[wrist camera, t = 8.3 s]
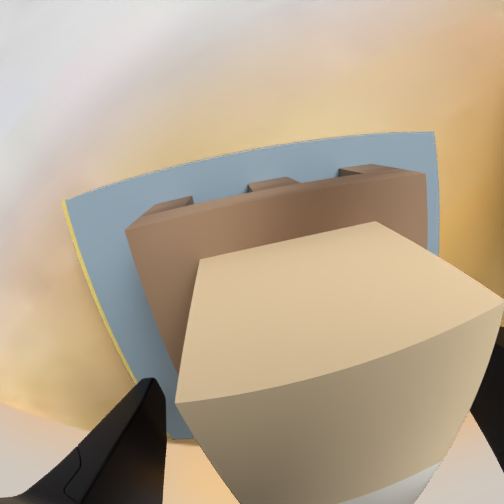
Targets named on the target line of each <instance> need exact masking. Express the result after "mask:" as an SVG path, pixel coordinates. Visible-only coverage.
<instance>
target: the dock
mask: <svg viewBox="0 0 504 504" xmlns="http://www.w3.org/2000/svg"><path fill="white" fill-rule="evenodd" d="M368 164H375V165H381V166H388V167H394V168H399V169H405V170H410V171H416V172H421V173H426V185H427V210H428V243H427V250H428V251H430V252H431V253H433V254H435V255H436V256H438V255H439V181H438V166H437V154H436V144H435V136H434V132H392V133H377V134H364V135H353V136H343V137H334V138H326V139H317V140H310V141H302V142H295V143H289V144H282V145H276V146H270V147H264V148H258V149H253V150H247V151H242V152H237V153H232V154H227V155H222V156H217V157H213V158H208V159H203V160H199V161H195V162H190V163H186V164H182V165H178V166H174V167H170V168H166V169H162V170H158V171H155V172H151V173H147V174H144V175H140V176H137V177H133V178H130V179H126V180H123V181H119V182H116V183H113V184H110V185H106V186H103V187H100V188H97V189H94V190H92V191H89V192H86V193H84V194H81V195H78V196H75V197H72V198H70V199H67V200H65V201H62V202H61V203H62V207H63V210H64V214H65V218H66V221H67V224H68V228H69V231H70V234H71V238H72V241H73V244H74V247H75V250H76V253H77V256H78V259H79V261H80V264H81V267H82V270H83V273H84V275H85V278H86V281H87V283H88V286H89V288H90V291H91V293H92V296H93V298H94V301H95V303H96V305H97V308H98V310H99V312H100V315H101V317H102V319H103V322H104V324H105V326H106V328H107V330H108V332H109V335H110V337H111V339H112V341H113V343H114V345H115V347H116V349H117V351H118V353H119V355H120V357H121V359H122V361H123V363H124V365H125V367H126V369H127V370H128V372H129V374H130V376H131V378H132V380H133V381H134V383H135V385H136V384H137V383H138V382H139V381H140V380H141V379H143V378H149V377H154V378H155V379H156V380H157V381H158V383H159V385H160V387H161V389H162V391H163V393H164V395H165V398H166V428H167V437H171V438H172V439H173V440H175V439H189V438H195V437H194V436H193V434H192V432H191V431H190V429H189V427H188V426H187V424H186V422H185V421H184V419H183V417H182V415H181V414H180V412H179V410H178V408H177V407H176V405H175V397H176V391H177V384H178V377H179V376H178V374H177V372H176V370H175V368H174V365H173V363H172V361H171V358H170V356H169V354H168V351H167V349H166V347H165V344H164V342H163V339H162V337H161V334H160V332H159V329H158V327H157V324H156V322H155V319H154V317H153V314H152V311H151V309H150V306H149V303H148V301H147V298H146V295H145V292H144V289H143V287H142V284H141V281H140V278H139V275H138V272H137V269H136V266H135V263H134V260H133V257H132V253H131V250H130V247H129V244H128V240H127V237H126V234H125V229H126V228H127V227H129V226H130V225H131V224H132V223H133V222H134V221H136V220H137V219H138V218H139V217H140V216H141V215H143V214H144V213H145V212H146V211H147V210H149V209H150V208H151V207H152V206H153V205H155V204H159V203H163V202H167V201H171V200H175V199H179V198H184V197H188V196H192V197H193V201H194V204H198V203H202V202H207V201H211V200H216V199H221V198H225V197H230V196H235V195H240V194H245V193H249V188H248V184H249V183H254V182H259V181H265V180H270V179H276V178H281V177H289V178H291V179H293V180H296V181H298V182H300V183H305V182H311V181H317V180H323V179H329V178H336V177H340V174H339V168H345V167H352V166H360V165H368Z"/></svg>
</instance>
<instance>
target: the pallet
mask: <svg viewBox="0 0 504 504" xmlns="http://www.w3.org/2000/svg"><path fill="white" fill-rule="evenodd" d="M339 174H340V177H336V178H329V179H323V180H317V181H311V182H305V183H300V182H298V181H296V180H293V179H291V178H289V177H281V178H276V179H270V180H265V181H259V182H254V183H249V184H248V188H249V193H245V194H240V195H235V196H230V197H225V198H221V199H216V200H211V201H207V202H202V203H198V204H194V201H193V197H192V196H188V197H184V198H179V199H175V200H171V201H167V202H163V203H159V204H155V205H153V206H152V207H151V208H150V209H149V210H147V211H146V212H145V213H144V214H143V215H141V216H140V217H139V218H138V219H137V220H136V221H134V222H133V223H132V224H131V225H130V226H129V227H127V228H126V229H125V234H126V237H127V240H128V244H129V247H130V250H131V253H132V257H133V260H134V263H135V266H136V269H137V272H138V275H139V278H140V281H141V284H142V287H143V289H144V292H145V295H146V298H147V301H148V303H149V306H150V309H151V311H152V314H153V317H154V319H155V322H156V324H157V327H158V329H159V332H160V334H161V337H162V339H163V342H164V344H165V347H166V349H167V351H168V354H169V356H170V358H171V361H172V363H173V365H174V368H175V370H176V372H177V374H178V376H179V371H180V365H181V359H182V352H183V346H184V341H185V335H186V329H187V323H188V318H189V312H190V307H191V302H192V296H193V291H194V286H195V281H196V276H197V271H198V266H199V261H200V259H204V258H209V257H213V256H218V255H222V254H227V253H231V252H236V251H241V250H245V249H250V248H254V247H259V246H263V245H268V244H273V243H277V242H282V241H286V240H291V239H295V238H300V237H305V236H309V235H314V234H318V233H323V232H328V231H332V230H337V229H341V228H346V227H351V226H355V225H360V224H365V223H369V222H374V221H376V222H378V223H380V224H382V225H384V226H386V227H387V228H389V229H391V230H393V231H395V232H396V233H398V234H400V235H402V236H404V237H405V238H407V239H409V240H411V241H412V242H414V243H416V244H418V245H419V246H421V247H423V248H424V249H426V250H427V243H428V210H427V185H426V173H421V172H416V171H410V170H405V169H399V168H394V167H388V166H381V165H375V164H368V165H360V166H352V167H345V168H339Z"/></svg>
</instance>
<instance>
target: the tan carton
mask: <svg viewBox="0 0 504 504" xmlns="http://www.w3.org/2000/svg"><path fill="white" fill-rule="evenodd" d="M503 312H504V299H502V298H501V297H499V296H498V295H497V294H495V293H494V292H492V291H491V290H489V289H488V288H486V287H485V286H483V285H482V284H480V283H479V282H477V281H476V280H474V279H473V278H471V277H470V276H468V275H467V274H465V273H464V272H462V271H460V270H459V269H457V268H456V267H454V266H452V265H451V264H449V263H448V262H446V261H444V260H443V259H441V258H439V257H438V256H436V255H435V254H433V253H431V252H430V251H428V250H426V249H424V248H423V247H421V246H419V245H418V244H416V243H414V242H412V241H411V240H409V239H407V238H405V237H404V236H402V235H400V234H398V233H396V232H395V231H393V230H391V229H389V228H387V227H386V226H384V225H382V224H380V223H378V222H376V221H374V222H369V223H365V224H360V225H355V226H351V227H346V228H341V229H337V230H332V231H328V232H323V233H318V234H314V235H309V236H305V237H300V238H295V239H291V240H286V241H282V242H277V243H273V244H268V245H263V246H259V247H254V248H250V249H245V250H241V251H236V252H231V253H227V254H222V255H218V256H213V257H209V258H204V259H200V261H199V266H198V271H197V276H196V281H195V286H194V291H193V296H192V302H191V307H190V312H189V318H188V323H187V329H186V335H185V341H184V346H183V352H182V359H181V365H180V371H179V377H178V384H177V391H176V397H175V405H176V407H177V408H178V410H179V412H180V414H181V415H182V417H183V419H184V421H185V422H186V424H187V426H188V427H189V429H190V431H191V432H192V434H193V436H194V437H195V439H196V441H197V442H198V444H199V445H200V447H201V448H202V450H203V452H204V453H205V455H206V456H207V458H208V459H209V460H210V462H211V464H212V465H213V467H214V468H215V470H216V471H217V472H218V474H219V475H220V477H221V478H222V480H223V481H224V482H225V484H226V485H227V487H228V488H229V489H230V491H231V492H232V493H233V495H234V496H235V498H236V499H237V500H238V501H239V503H240V504H338V503H341V502H345V501H348V500H351V499H354V498H357V497H360V496H363V495H366V494H369V493H372V492H374V491H377V490H380V489H382V488H385V487H387V486H390V485H392V484H394V483H397V482H399V481H401V480H404V479H406V478H408V477H410V476H413V475H415V474H417V473H419V472H421V471H423V470H425V469H427V468H429V467H431V466H433V465H435V464H437V463H439V462H440V461H442V460H443V459H444V458H445V456H446V454H447V452H448V451H449V449H450V447H451V445H452V444H453V442H454V440H455V438H456V436H457V434H458V432H459V431H460V429H461V427H462V424H463V423H464V420H465V418H466V416H467V414H468V412H469V410H470V408H471V406H472V403H473V401H474V399H475V396H476V394H477V392H478V389H479V387H480V384H481V382H482V379H483V377H484V374H485V371H486V368H487V366H488V363H489V360H490V357H491V354H492V351H493V348H494V345H495V341H496V338H497V335H498V331H499V327H500V324H501V320H502V316H503Z"/></svg>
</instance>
